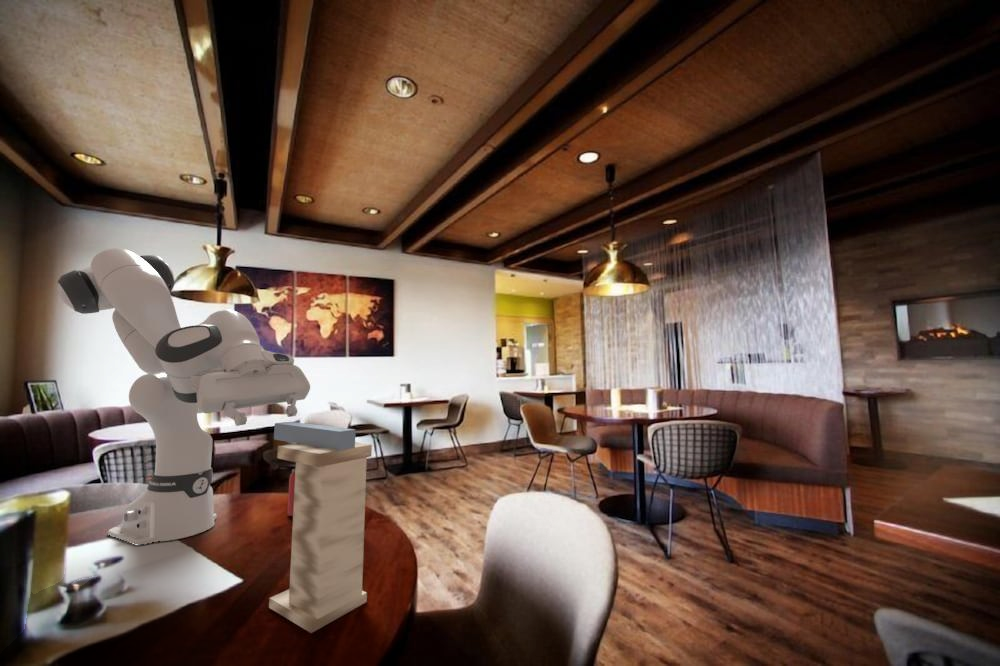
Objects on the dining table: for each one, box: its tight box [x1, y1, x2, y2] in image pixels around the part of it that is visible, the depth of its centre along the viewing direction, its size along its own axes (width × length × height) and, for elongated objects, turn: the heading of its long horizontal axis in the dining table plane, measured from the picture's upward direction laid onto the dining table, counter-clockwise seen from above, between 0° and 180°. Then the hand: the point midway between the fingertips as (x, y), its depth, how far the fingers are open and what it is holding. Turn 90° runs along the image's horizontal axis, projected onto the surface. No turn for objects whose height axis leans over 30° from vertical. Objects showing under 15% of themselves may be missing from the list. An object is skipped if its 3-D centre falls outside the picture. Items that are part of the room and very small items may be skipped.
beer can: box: [287, 468, 296, 518], centre depth 112 cm, size 7×7×12 cm
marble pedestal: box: [268, 441, 373, 634], centre depth 69 cm, size 12×10×26 cm
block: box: [273, 421, 356, 450], centre depth 73 cm, size 20×3×3 cm, turn 57°
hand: (268, 418), depth 80 cm, fingers open, 8 cm apart
